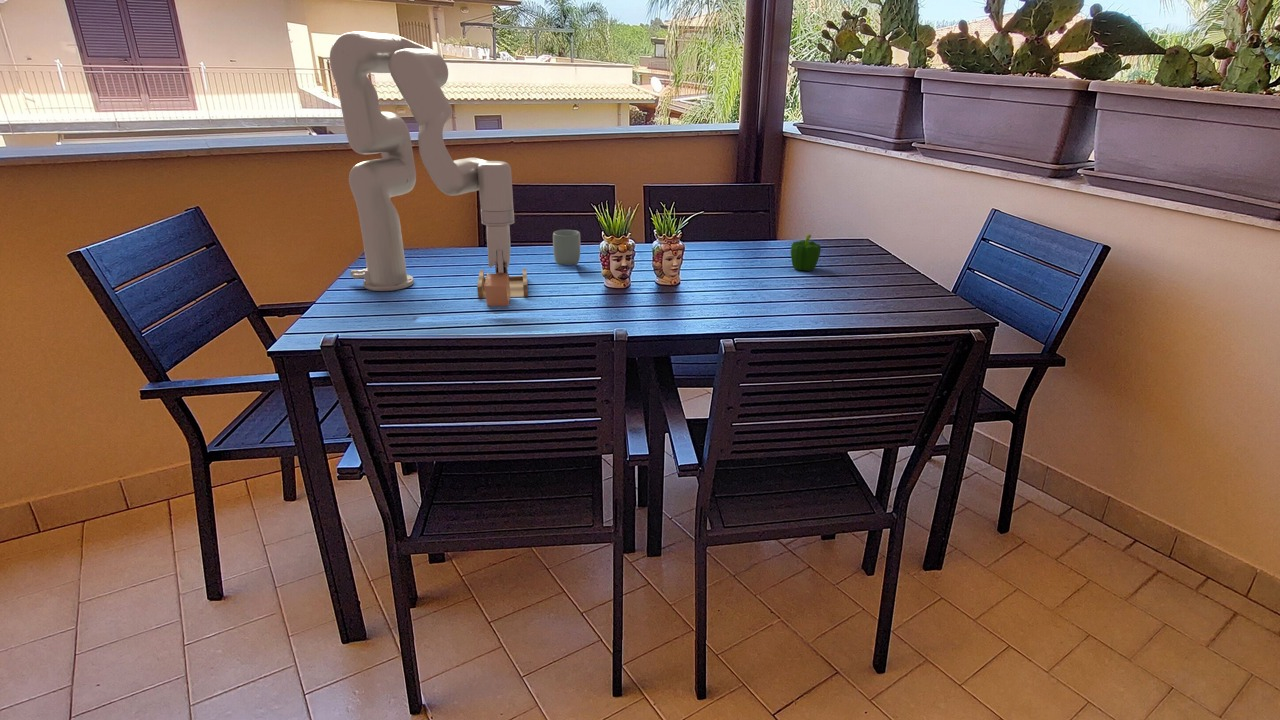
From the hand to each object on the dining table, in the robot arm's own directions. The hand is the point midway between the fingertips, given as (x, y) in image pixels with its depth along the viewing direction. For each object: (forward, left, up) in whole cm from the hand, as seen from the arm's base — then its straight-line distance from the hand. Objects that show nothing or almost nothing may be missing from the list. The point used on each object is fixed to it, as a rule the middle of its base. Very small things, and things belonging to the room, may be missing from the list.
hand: (503, 291), depth 160 cm
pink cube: (-1, -4, -1) cm, 4 cm away
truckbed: (0, +7, -3) cm, 7 cm away
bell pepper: (+87, +20, -3) cm, 89 cm away
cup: (+18, +31, -3) cm, 36 cm away
